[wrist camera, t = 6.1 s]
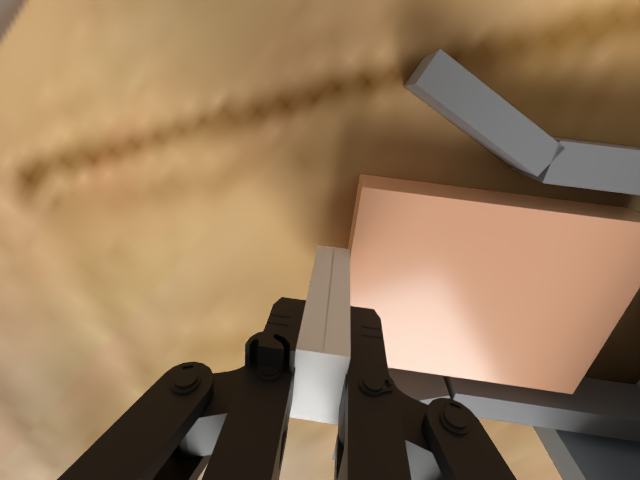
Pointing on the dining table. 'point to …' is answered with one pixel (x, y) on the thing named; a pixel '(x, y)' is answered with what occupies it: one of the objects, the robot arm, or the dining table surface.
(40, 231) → the dining table surface
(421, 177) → the dining table surface
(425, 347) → the terracotta tile
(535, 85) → the dining table surface
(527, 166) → the grey docking fixture
